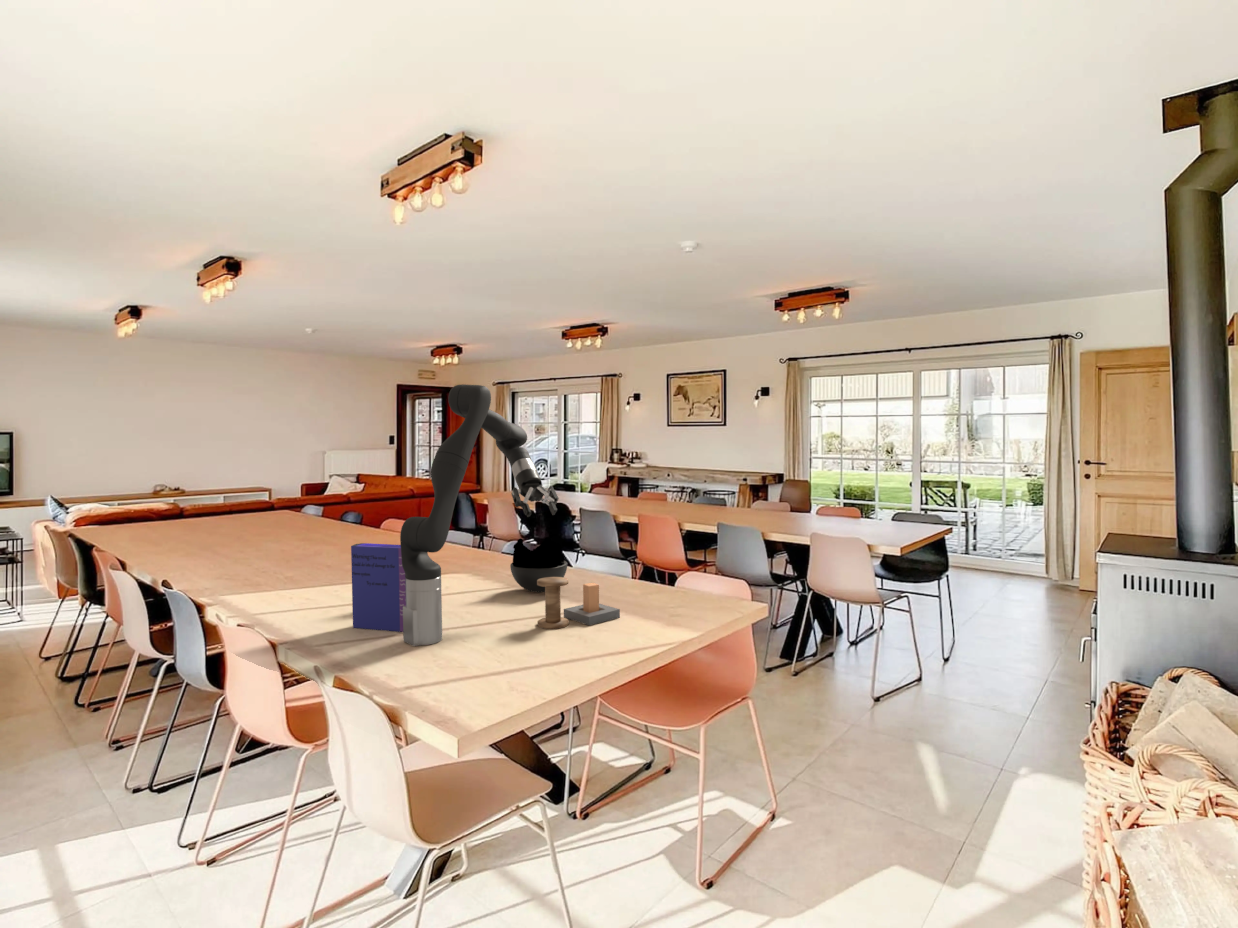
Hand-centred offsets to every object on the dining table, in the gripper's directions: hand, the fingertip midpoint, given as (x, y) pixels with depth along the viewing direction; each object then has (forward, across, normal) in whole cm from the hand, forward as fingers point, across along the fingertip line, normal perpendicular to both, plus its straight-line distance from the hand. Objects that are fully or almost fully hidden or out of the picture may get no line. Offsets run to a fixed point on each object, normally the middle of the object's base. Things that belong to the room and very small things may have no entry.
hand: (542, 514), depth 200 cm
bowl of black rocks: (+4, +11, +40) cm, 42 cm away
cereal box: (+14, -45, +29) cm, 56 cm away
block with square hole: (+31, +10, +12) cm, 35 cm away
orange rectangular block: (+31, +10, +12) cm, 35 cm away
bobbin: (+31, -4, +12) cm, 34 cm away
